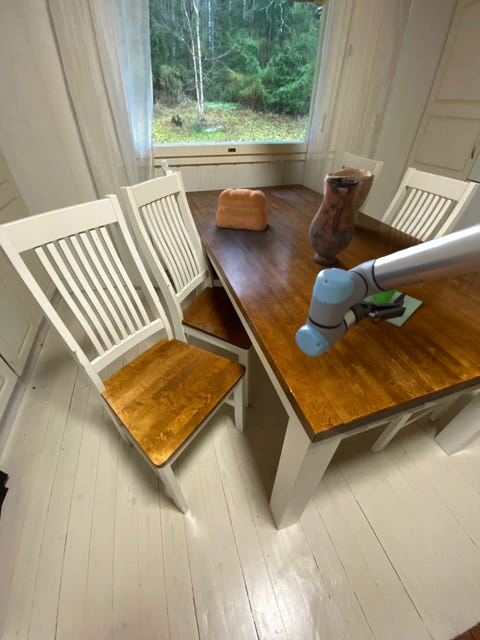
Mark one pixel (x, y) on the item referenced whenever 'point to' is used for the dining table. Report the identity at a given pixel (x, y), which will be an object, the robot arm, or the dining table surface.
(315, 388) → the dining table surface
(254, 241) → the dining table surface
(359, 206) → the tan flared vase
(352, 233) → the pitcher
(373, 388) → the dining table surface
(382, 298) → the cup
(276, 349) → the dining table surface
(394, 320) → the cloth
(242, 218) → the bread
